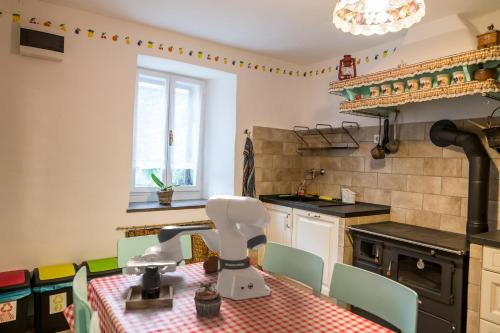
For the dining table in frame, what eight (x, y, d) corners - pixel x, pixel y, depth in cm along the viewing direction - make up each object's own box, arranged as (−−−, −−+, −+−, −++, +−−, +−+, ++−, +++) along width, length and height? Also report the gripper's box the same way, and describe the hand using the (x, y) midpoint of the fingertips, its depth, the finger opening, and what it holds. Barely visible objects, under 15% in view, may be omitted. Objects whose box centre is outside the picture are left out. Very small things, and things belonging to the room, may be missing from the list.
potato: (198, 273, 162) (198, 257, 162) (208, 267, 172) (208, 252, 172) (214, 275, 159) (215, 259, 159) (224, 269, 169) (224, 254, 169)
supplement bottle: (154, 302, 125) (155, 269, 125) (137, 300, 127) (138, 267, 127) (163, 295, 132) (163, 264, 132) (147, 293, 133) (147, 262, 133)
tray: (171, 291, 139) (172, 283, 139) (172, 307, 123) (172, 298, 123) (130, 293, 135) (130, 286, 135) (125, 310, 120) (125, 301, 120)
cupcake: (197, 320, 113) (198, 290, 113) (191, 309, 122) (192, 281, 122) (225, 316, 117) (226, 287, 117) (217, 305, 126) (217, 278, 126)
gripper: (176, 268, 152) (177, 279, 138) (127, 271, 147) (123, 282, 133) (176, 254, 152) (177, 263, 138) (127, 256, 147) (123, 266, 133)
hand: (150, 272), depth 136 cm, fingers open, 8 cm apart
